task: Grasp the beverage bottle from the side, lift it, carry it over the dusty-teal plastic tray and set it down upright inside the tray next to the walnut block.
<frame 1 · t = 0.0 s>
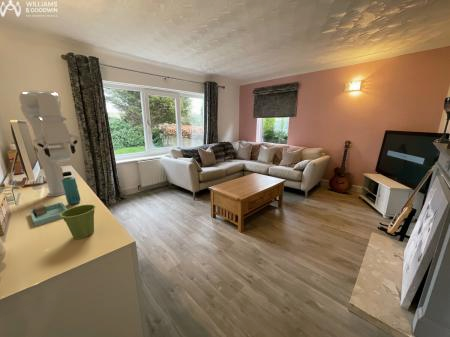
hand: (61, 154, 96), 31 cm above the table, fingers open, 9 cm apart
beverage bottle: (74, 204, 113), on the table
plant pot: (84, 234, 81), on the table
tray: (50, 216, 99), on the table
walnut block: (40, 213, 101), point 1 cm above the table, touching tray
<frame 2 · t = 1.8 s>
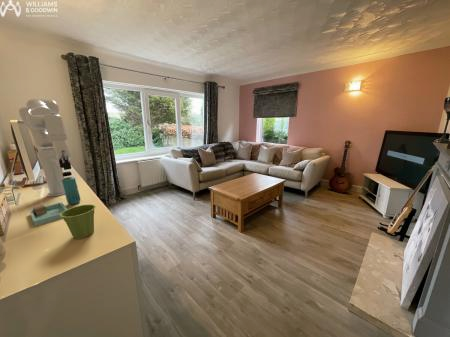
hand: (66, 168, 107), 22 cm above the table, fingers open, 9 cm apart
nothing on the table moved.
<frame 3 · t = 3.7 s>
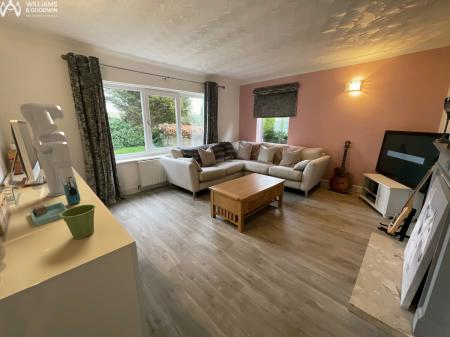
hand: (72, 193, 111), 7 cm above the table, fingers closed on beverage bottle, 6 cm apart
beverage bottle: (74, 204, 113), on the table, touching gripper
everything else where it was.
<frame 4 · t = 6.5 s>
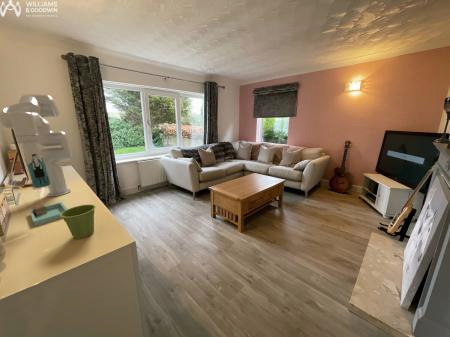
hand: (39, 175, 93), 22 cm above the table, fingers closed on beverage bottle, 6 cm apart
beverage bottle: (43, 189, 94), point 15 cm above the table, touching gripper
everything else where it was.
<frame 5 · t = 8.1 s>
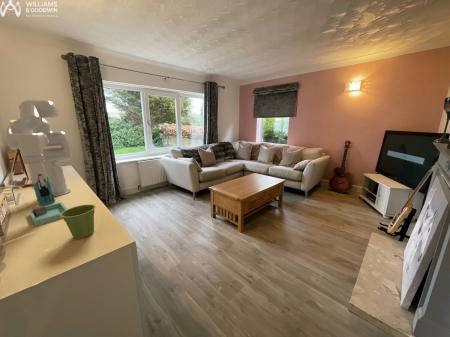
hand: (44, 194, 95), 13 cm above the table, fingers closed on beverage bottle, 6 cm apart
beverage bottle: (48, 206, 96), point 6 cm above the table, touching gripper
everything else where it was.
when the fingers open (8 cm above the table, at t = 9.5 s): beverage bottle drops 1 cm, resting on tray.
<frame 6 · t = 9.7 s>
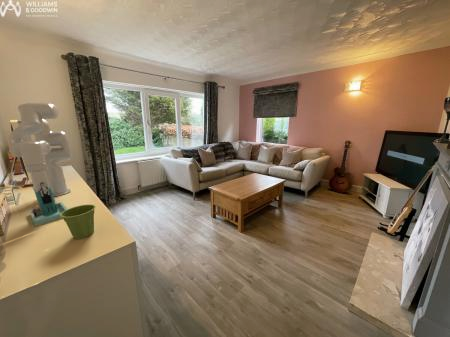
hand: (46, 200, 96), 9 cm above the table, fingers open, 8 cm apart
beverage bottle: (51, 216, 98), resting on tray
everything else where it was.
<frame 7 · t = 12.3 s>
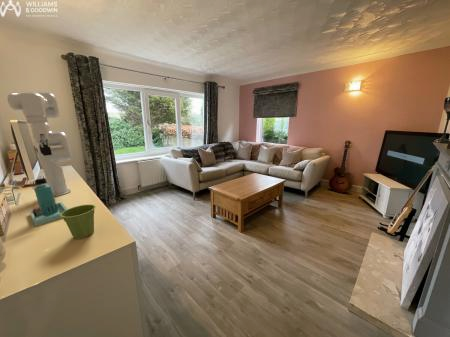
hand: (46, 154, 98), 32 cm above the table, fingers open, 9 cm apart
nothing on the table moved.
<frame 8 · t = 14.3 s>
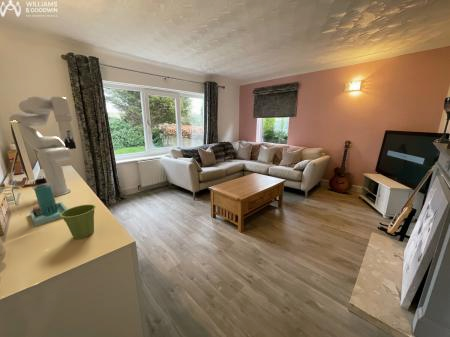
hand: (70, 148, 115), 32 cm above the table, fingers open, 9 cm apart
nothing on the table moved.
at the end: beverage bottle inside the target area on the tray (1.8 cm from its centre), point 0.4 cm above the tray's base; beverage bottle tilted 0°; the gripper is holding nothing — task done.
